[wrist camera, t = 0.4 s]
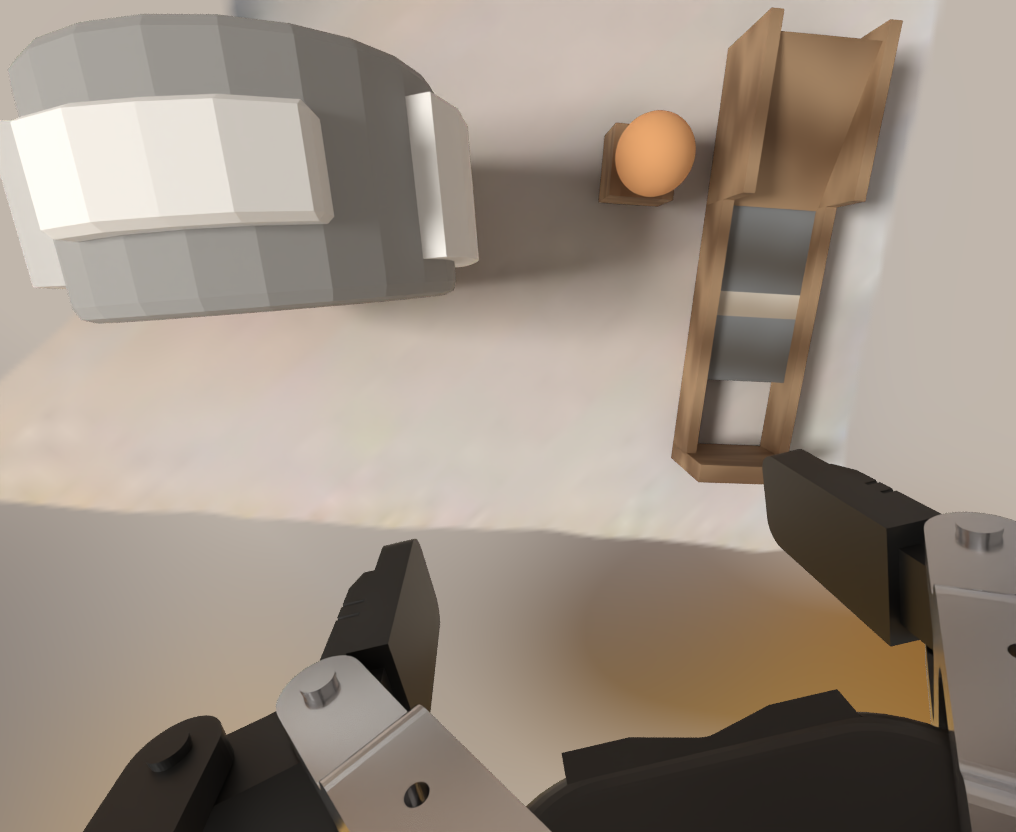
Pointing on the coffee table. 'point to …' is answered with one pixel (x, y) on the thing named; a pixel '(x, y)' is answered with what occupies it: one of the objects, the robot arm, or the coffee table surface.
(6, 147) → the alarm clock
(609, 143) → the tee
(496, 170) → the coffee table surface
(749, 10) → the coffee table surface
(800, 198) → the lane
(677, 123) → the ball
